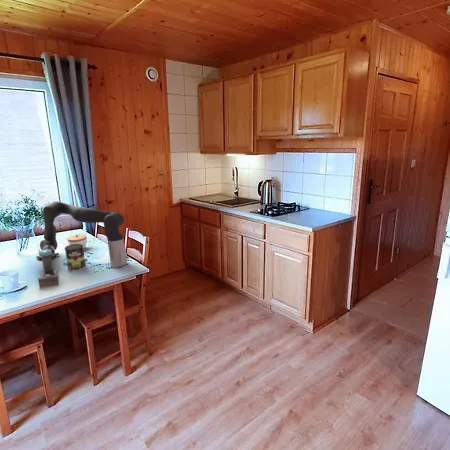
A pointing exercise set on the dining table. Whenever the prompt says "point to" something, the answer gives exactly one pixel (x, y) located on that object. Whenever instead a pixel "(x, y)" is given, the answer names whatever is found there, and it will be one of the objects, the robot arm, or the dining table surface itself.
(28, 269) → the dining table surface
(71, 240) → the lidded bowl
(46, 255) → the knob
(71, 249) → the coffee can
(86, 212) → the robot arm
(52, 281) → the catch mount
